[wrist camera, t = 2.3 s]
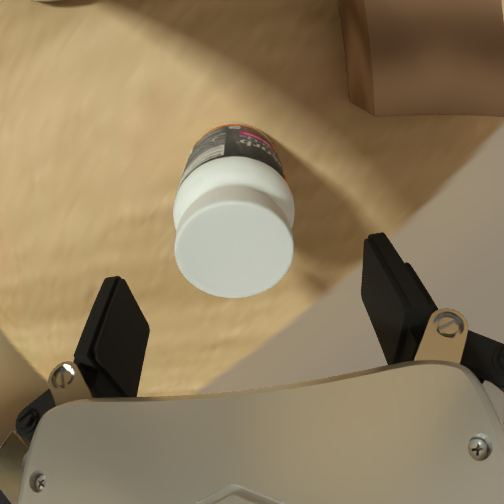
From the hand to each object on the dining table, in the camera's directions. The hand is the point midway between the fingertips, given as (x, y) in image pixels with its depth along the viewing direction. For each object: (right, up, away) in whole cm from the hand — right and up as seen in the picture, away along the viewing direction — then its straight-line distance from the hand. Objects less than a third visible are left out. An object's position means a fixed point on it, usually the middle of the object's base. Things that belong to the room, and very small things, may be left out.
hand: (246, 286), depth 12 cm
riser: (+10, +16, +3) cm, 19 cm away
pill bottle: (-1, +7, +8) cm, 11 cm away
